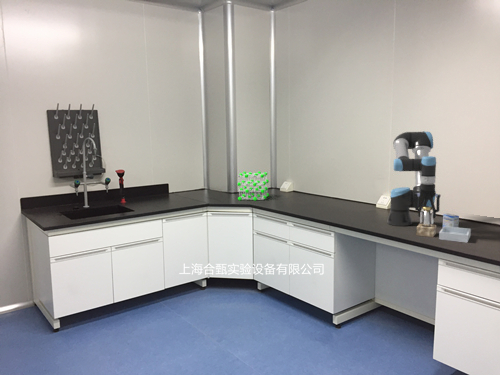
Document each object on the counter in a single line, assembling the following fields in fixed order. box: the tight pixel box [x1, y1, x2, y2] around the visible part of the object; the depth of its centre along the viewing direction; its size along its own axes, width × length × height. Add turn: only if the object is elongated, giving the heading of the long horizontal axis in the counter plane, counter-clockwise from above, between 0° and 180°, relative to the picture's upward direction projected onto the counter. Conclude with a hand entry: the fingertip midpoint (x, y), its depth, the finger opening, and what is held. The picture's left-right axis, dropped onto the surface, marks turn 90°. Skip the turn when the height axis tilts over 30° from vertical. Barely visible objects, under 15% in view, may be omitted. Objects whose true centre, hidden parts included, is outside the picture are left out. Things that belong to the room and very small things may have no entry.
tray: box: [438, 226, 472, 243], centre depth 226 cm, size 14×16×4 cm
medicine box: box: [442, 213, 460, 228], centre depth 245 cm, size 8×4×9 cm, turn 24°
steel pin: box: [422, 206, 433, 227], centre depth 233 cm, size 5×5×16 cm
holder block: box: [416, 223, 437, 238], centre depth 234 cm, size 9×9×5 cm
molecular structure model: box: [237, 171, 270, 201], centre depth 371 cm, size 24×25×24 cm
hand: (426, 222), depth 234 cm, fingers open, 5 cm apart
